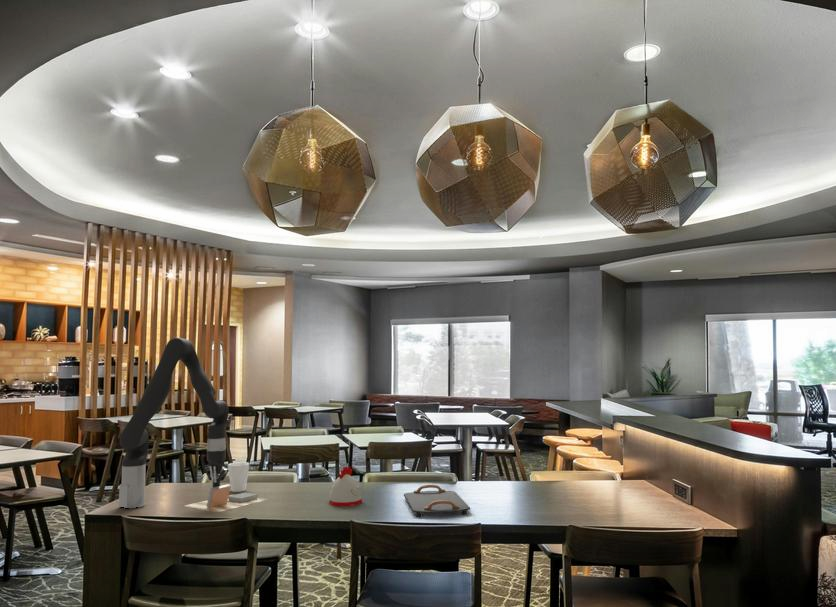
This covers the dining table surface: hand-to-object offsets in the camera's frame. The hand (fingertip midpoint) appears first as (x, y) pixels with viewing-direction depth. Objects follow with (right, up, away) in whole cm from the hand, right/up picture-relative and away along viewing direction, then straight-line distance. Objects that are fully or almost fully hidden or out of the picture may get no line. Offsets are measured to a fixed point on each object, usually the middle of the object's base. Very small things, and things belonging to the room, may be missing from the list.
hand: (216, 491), depth 266 cm
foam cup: (+1, -10, +30) cm, 31 cm away
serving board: (+91, -6, -4) cm, 91 cm away
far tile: (+5, -6, +11) cm, 14 cm away
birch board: (+3, -7, +4) cm, 9 cm away
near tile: (+1, -5, -1) cm, 6 cm away
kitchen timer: (+53, -7, +6) cm, 54 cm away
